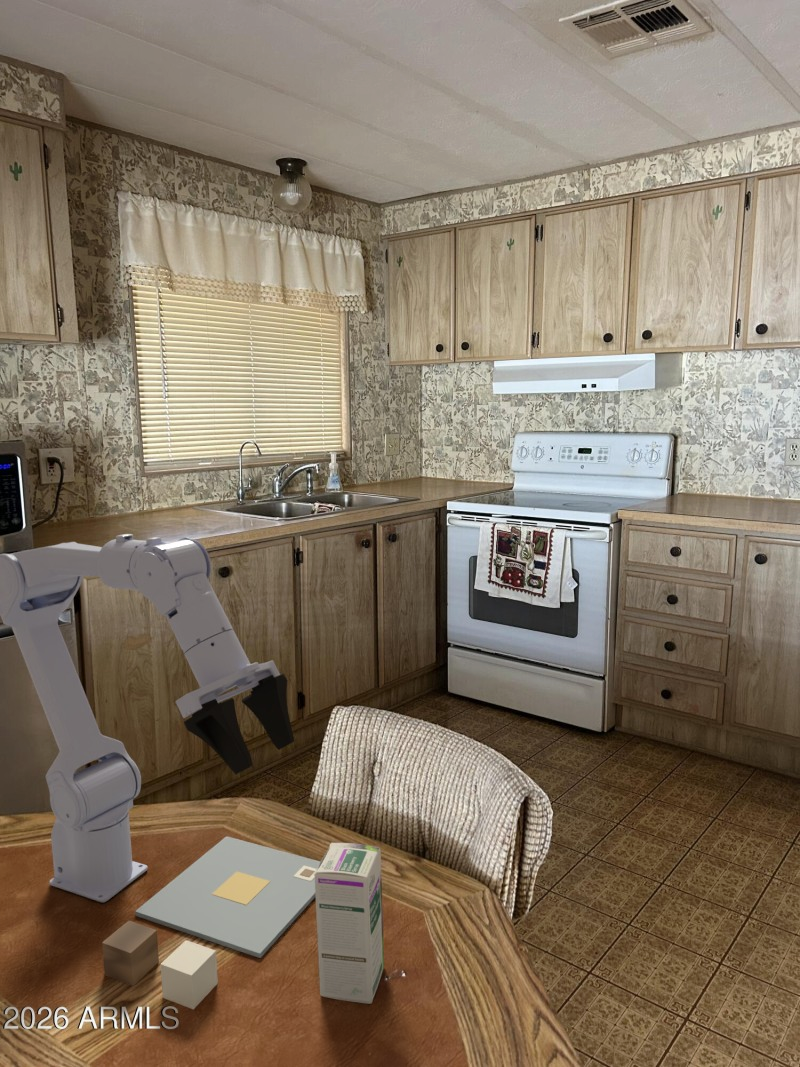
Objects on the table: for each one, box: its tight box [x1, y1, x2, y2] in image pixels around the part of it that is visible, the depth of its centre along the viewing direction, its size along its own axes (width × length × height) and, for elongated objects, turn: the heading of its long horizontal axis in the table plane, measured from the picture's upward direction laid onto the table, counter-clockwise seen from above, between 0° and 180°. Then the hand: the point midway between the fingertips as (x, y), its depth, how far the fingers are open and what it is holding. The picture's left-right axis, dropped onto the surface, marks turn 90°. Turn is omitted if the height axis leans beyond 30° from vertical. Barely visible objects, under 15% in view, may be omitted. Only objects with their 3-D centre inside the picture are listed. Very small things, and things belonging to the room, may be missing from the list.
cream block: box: [160, 939, 219, 1010], centre depth 83 cm, size 4×4×4 cm
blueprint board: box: [134, 835, 321, 959], centre depth 100 cm, size 18×18×1 cm
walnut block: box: [101, 920, 160, 987], centre depth 87 cm, size 4×4×4 cm
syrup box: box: [314, 842, 385, 1005], centre depth 84 cm, size 6×6×14 cm
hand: (266, 757), depth 83 cm, fingers open, 7 cm apart
